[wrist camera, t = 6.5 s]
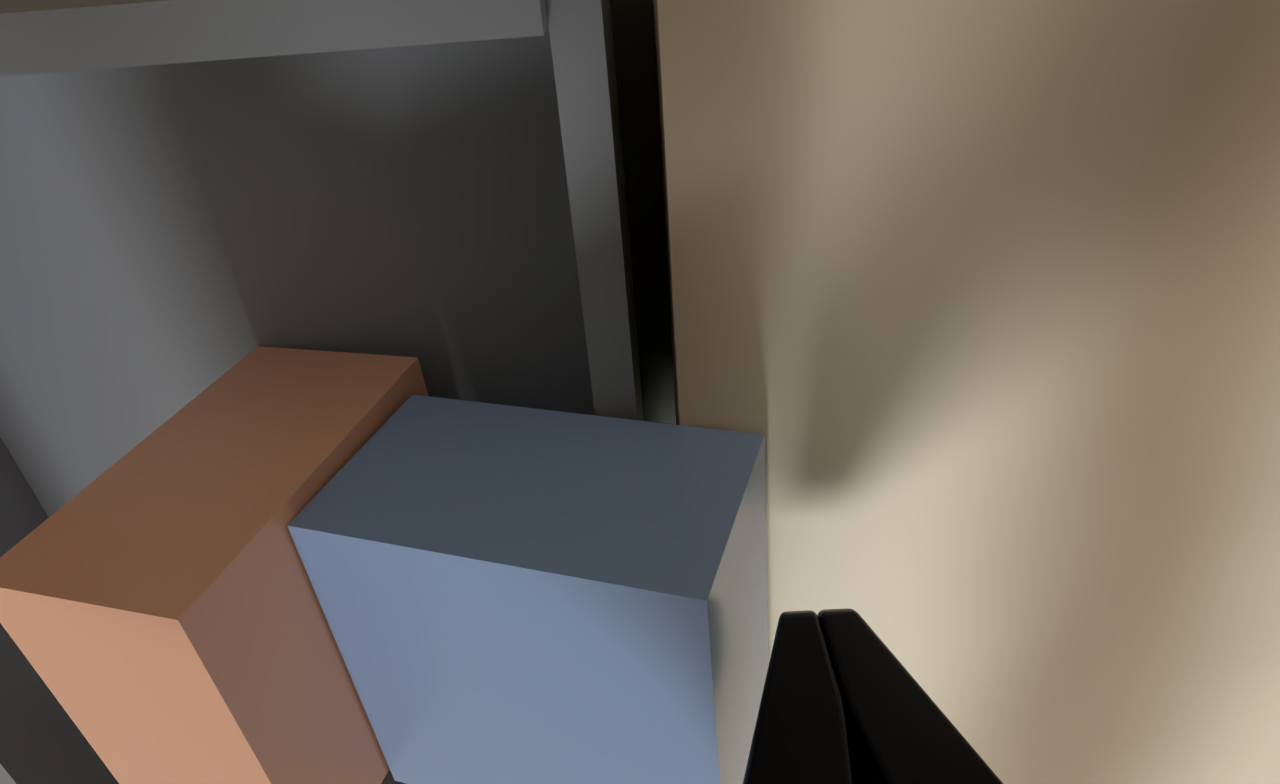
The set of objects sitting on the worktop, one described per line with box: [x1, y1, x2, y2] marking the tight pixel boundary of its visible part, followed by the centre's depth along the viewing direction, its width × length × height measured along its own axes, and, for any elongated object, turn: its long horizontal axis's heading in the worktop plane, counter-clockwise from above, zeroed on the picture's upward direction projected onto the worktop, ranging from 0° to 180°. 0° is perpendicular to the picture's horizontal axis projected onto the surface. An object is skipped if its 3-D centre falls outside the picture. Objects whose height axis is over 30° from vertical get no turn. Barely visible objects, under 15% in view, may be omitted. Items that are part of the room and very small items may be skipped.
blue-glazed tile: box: [287, 395, 768, 784], centre depth 10 cm, size 4×4×2 cm
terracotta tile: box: [0, 346, 428, 784], centre depth 11 cm, size 4×4×2 cm
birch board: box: [653, 0, 1280, 784], centre depth 12 cm, size 12×14×3 cm
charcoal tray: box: [0, 0, 644, 784], centre depth 12 cm, size 10×14×4 cm
